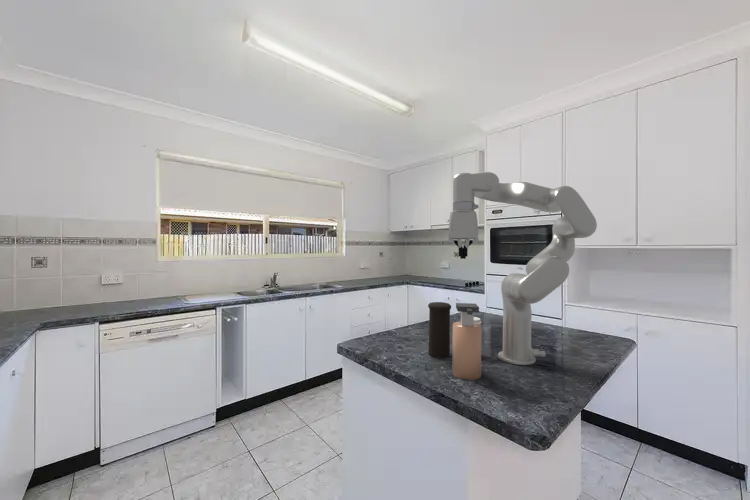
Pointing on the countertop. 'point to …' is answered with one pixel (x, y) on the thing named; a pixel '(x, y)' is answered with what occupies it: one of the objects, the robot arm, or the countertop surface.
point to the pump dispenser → (466, 348)
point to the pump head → (467, 308)
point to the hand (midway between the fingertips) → (462, 258)
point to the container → (439, 329)
